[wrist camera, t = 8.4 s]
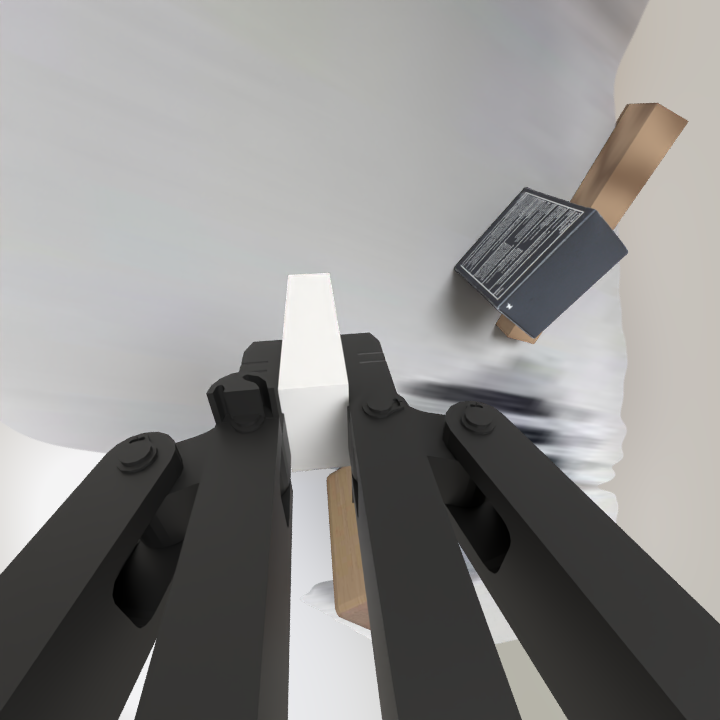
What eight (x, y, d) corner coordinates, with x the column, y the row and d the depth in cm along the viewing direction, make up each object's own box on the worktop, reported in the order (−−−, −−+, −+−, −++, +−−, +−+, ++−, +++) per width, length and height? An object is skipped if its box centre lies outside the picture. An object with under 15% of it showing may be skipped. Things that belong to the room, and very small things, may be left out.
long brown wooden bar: (626, 103, 33) (657, 103, 30) (656, 120, 34) (688, 121, 31) (494, 323, 45) (507, 337, 42) (519, 329, 46) (534, 343, 43)
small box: (488, 297, 43) (534, 343, 34) (451, 267, 40) (492, 309, 31) (560, 223, 38) (634, 254, 30) (525, 184, 36) (596, 206, 27)
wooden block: (406, 475, 60) (445, 609, 44) (358, 500, 62) (378, 637, 46) (375, 445, 55) (405, 585, 38) (323, 474, 57) (332, 618, 41)
